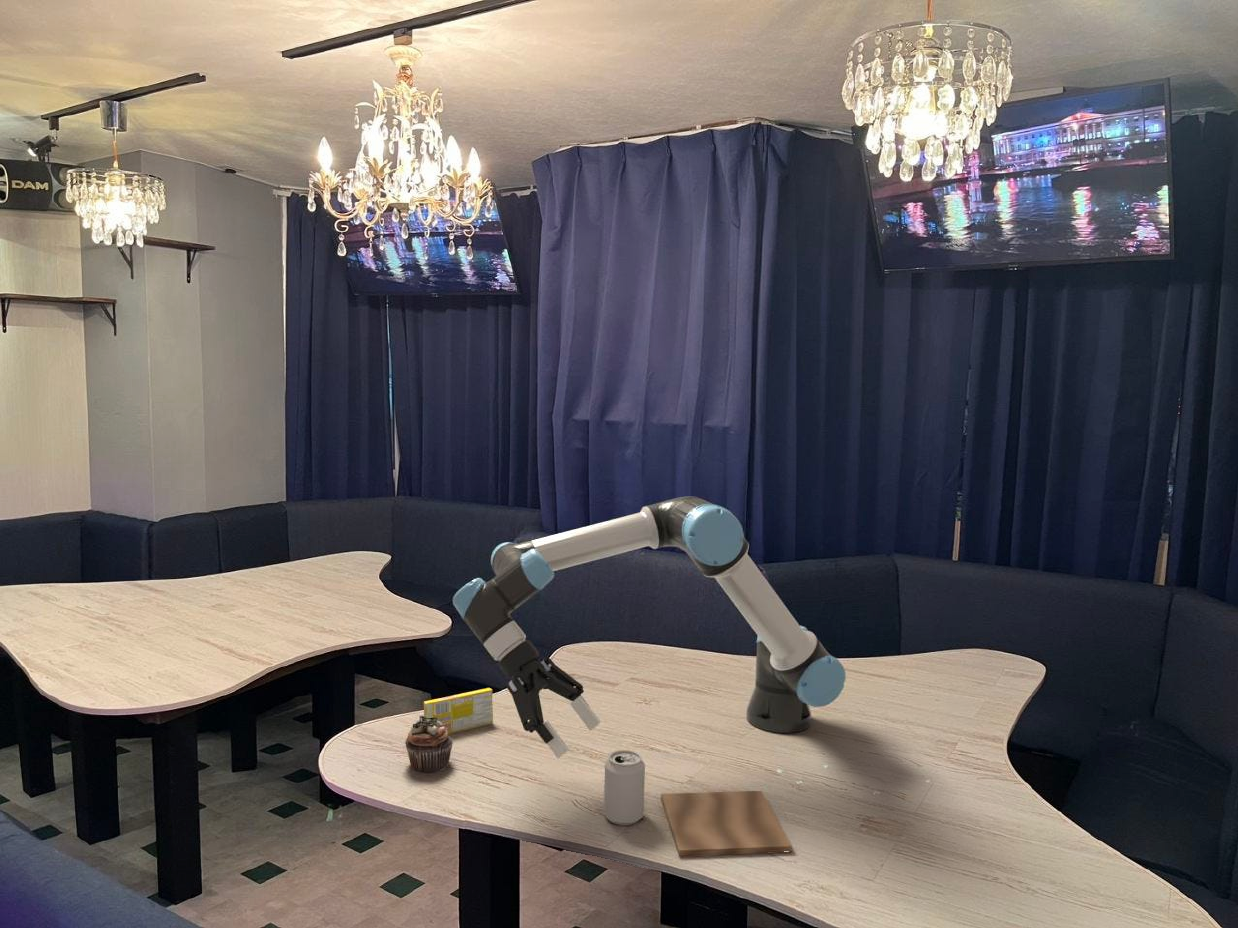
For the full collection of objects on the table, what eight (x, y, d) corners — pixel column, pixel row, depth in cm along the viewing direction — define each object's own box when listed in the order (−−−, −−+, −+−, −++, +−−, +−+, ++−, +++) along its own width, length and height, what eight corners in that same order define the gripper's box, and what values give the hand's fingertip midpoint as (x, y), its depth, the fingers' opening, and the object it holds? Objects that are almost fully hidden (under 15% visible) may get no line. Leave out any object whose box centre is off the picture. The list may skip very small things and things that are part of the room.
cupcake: (450, 774, 184) (450, 727, 183) (402, 775, 184) (401, 728, 182) (455, 753, 194) (455, 708, 193) (409, 754, 193) (409, 709, 192)
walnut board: (761, 796, 178) (761, 790, 178) (791, 852, 159) (791, 845, 159) (660, 799, 176) (661, 793, 176) (678, 856, 156) (679, 850, 156)
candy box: (489, 720, 211) (489, 686, 210) (493, 724, 210) (493, 689, 209) (423, 735, 203) (423, 700, 202) (426, 739, 201) (426, 703, 200)
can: (602, 807, 173) (603, 747, 171) (641, 806, 173) (643, 746, 172) (605, 827, 165) (606, 765, 164) (645, 826, 166) (647, 764, 164)
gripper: (531, 643, 188) (595, 726, 184) (464, 682, 165) (535, 777, 161) (554, 622, 185) (620, 705, 181) (489, 658, 162) (562, 755, 158)
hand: (580, 739), depth 171 cm, fingers open, 13 cm apart
